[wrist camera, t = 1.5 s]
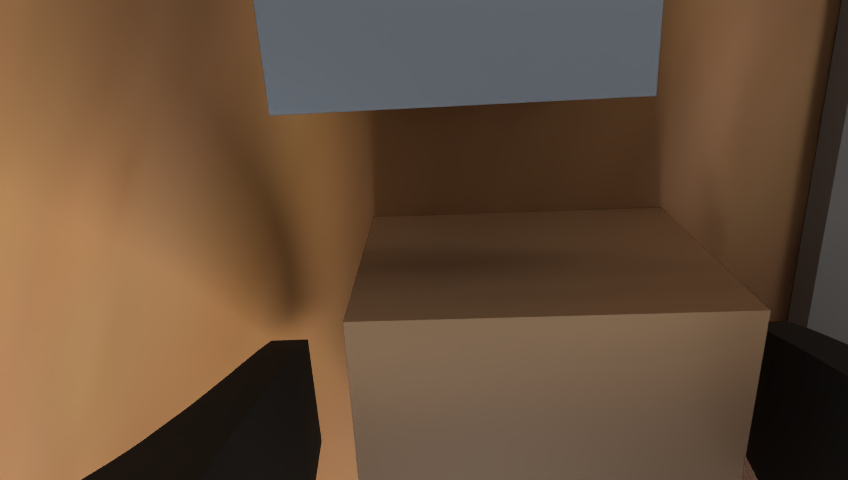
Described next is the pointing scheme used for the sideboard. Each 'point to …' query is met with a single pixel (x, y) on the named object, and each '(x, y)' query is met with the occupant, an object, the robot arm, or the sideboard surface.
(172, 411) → the sideboard surface
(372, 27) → the blue block
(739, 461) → the walnut block
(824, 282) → the mat
